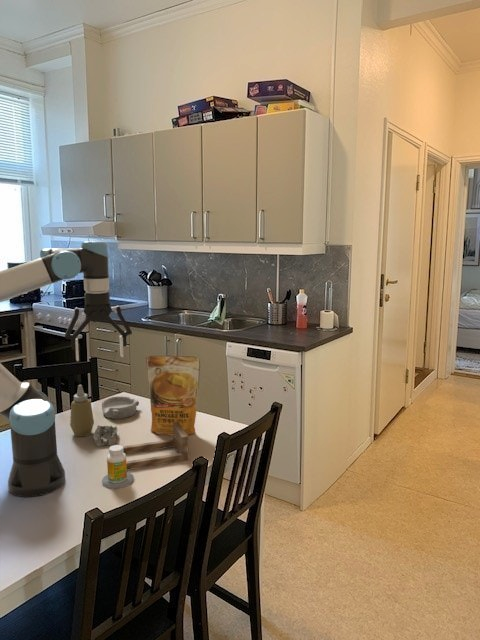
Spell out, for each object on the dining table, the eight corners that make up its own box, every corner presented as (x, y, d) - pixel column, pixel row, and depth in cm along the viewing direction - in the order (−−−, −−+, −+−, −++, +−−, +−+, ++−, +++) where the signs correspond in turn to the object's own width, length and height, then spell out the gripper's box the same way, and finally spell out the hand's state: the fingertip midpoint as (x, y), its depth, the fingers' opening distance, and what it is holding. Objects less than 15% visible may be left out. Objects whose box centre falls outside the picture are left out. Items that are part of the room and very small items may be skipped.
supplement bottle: (113, 485, 140) (112, 453, 138) (104, 478, 143) (103, 447, 142) (130, 479, 143) (129, 447, 142) (120, 472, 147) (119, 442, 145)
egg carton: (115, 446, 166) (114, 435, 166) (92, 447, 166) (91, 436, 165) (119, 433, 177) (118, 422, 176) (97, 434, 176) (97, 423, 175)
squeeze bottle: (94, 427, 181) (91, 380, 178) (94, 436, 173) (92, 387, 170) (70, 430, 178) (68, 382, 175) (70, 439, 171) (67, 390, 167)
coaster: (103, 490, 138) (103, 489, 138) (100, 475, 146) (100, 474, 146) (135, 485, 141) (135, 483, 141) (131, 470, 149) (131, 469, 149)
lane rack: (122, 470, 150) (121, 445, 148) (117, 452, 161) (116, 429, 160) (188, 459, 157) (187, 436, 155) (179, 443, 168) (178, 421, 167)
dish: (118, 422, 186) (118, 410, 185) (93, 415, 194) (93, 403, 193) (145, 411, 198) (145, 399, 197) (121, 404, 205) (120, 392, 204)
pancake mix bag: (150, 426, 182) (148, 353, 177) (201, 429, 181) (200, 355, 175) (145, 434, 176) (142, 358, 170) (197, 436, 174) (197, 360, 169)
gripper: (135, 288, 160) (137, 352, 164) (54, 291, 152) (58, 358, 156) (139, 291, 153) (141, 357, 157) (53, 294, 145) (58, 364, 149)
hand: (100, 358), depth 156 cm, fingers open, 13 cm apart
